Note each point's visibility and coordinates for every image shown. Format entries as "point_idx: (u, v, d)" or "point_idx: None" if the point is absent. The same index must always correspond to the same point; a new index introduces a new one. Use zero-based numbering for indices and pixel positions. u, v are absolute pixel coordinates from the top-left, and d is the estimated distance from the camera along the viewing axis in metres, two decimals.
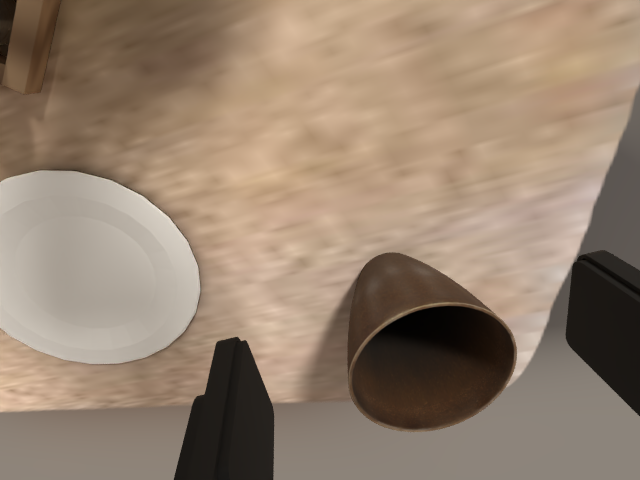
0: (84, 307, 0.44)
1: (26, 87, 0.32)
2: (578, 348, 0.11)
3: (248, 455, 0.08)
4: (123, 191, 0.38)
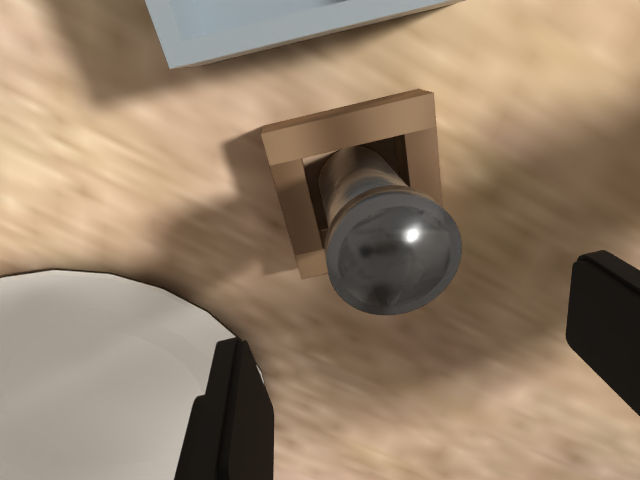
0: (58, 421, 0.30)
1: None
2: (578, 348, 0.11)
3: (248, 455, 0.08)
4: None
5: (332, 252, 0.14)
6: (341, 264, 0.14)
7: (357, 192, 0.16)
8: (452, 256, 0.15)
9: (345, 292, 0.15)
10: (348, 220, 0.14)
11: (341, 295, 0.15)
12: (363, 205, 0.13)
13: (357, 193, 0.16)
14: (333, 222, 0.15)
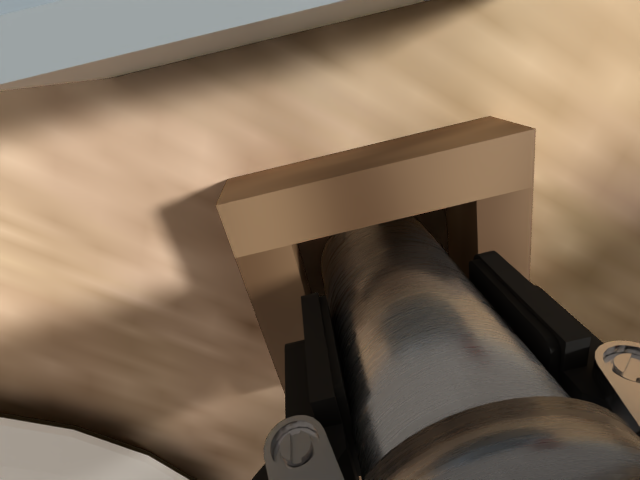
0: None
1: None
2: None
3: (345, 388, 0.09)
4: None
5: None
6: None
7: (419, 373, 0.07)
8: None
9: None
10: None
11: None
12: None
13: (420, 377, 0.07)
14: None
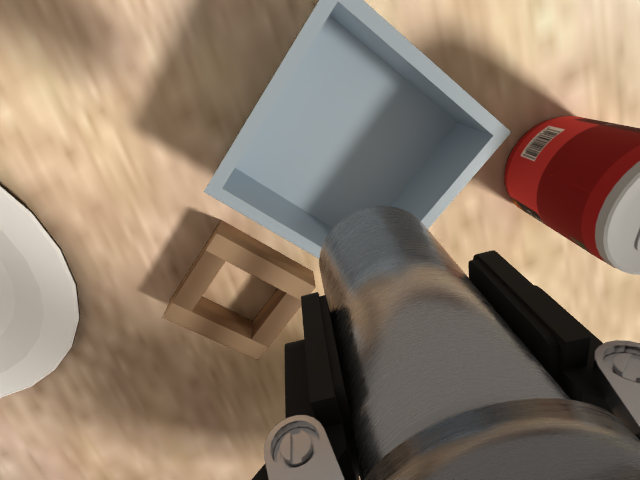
0: None
1: None
2: None
3: None
4: (58, 356, 0.33)
5: None
6: None
7: (417, 374, 0.07)
8: None
9: None
10: None
11: None
12: None
13: (418, 378, 0.07)
14: None
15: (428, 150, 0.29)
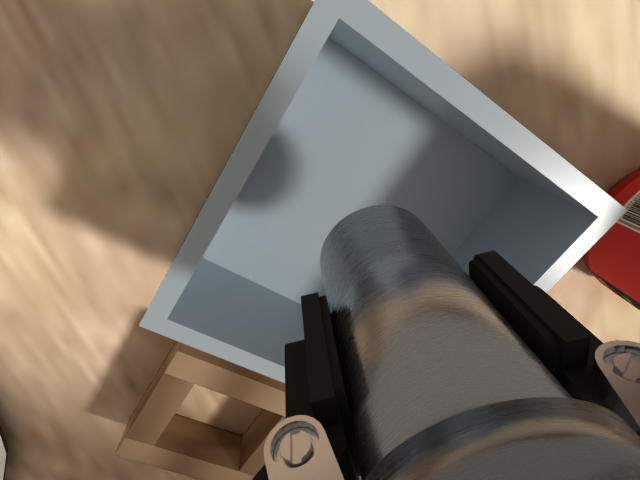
0: None
1: None
2: None
3: None
4: None
5: None
6: None
7: (418, 373, 0.07)
8: None
9: None
10: None
11: None
12: None
13: (420, 377, 0.07)
14: None
15: (477, 217, 0.20)
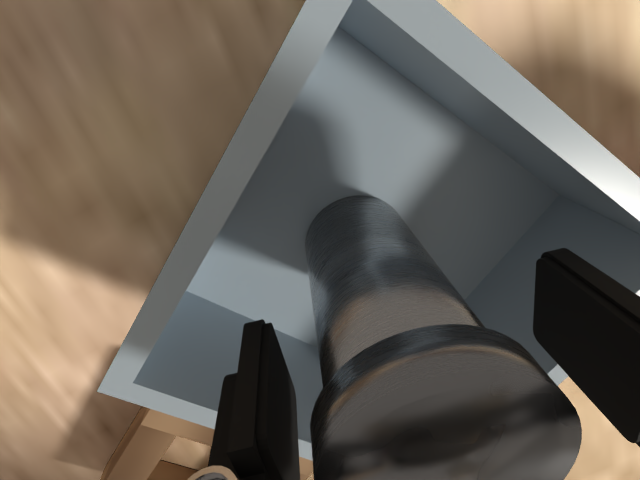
0: None
1: None
2: (543, 342, 0.11)
3: (279, 427, 0.08)
4: None
5: (325, 469, 0.07)
6: None
7: (369, 317, 0.09)
8: (560, 459, 0.07)
9: None
10: (357, 419, 0.06)
11: None
12: (388, 389, 0.06)
13: (370, 319, 0.09)
14: (326, 396, 0.07)
15: (508, 241, 0.17)
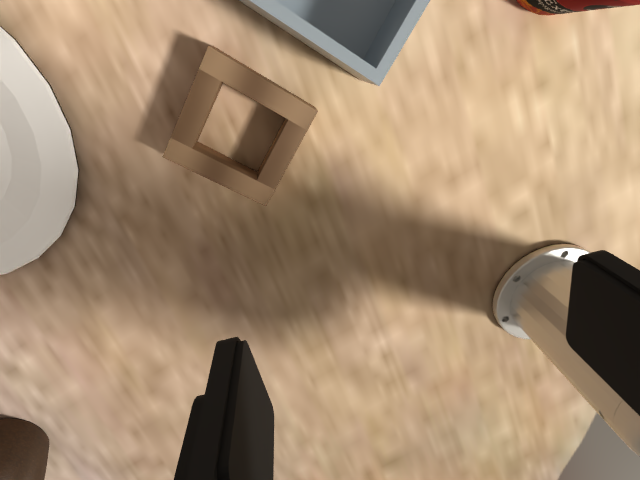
0: None
1: None
2: (578, 348, 0.11)
3: (248, 455, 0.08)
4: (62, 218, 0.32)
5: None
6: None
7: None
8: None
9: None
10: None
11: None
12: None
13: None
14: None
15: None
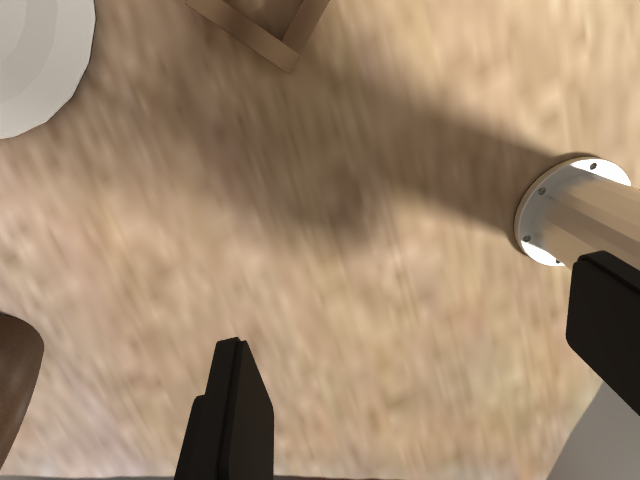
0: None
1: (193, 8, 0.29)
2: (578, 348, 0.11)
3: (248, 455, 0.08)
4: (75, 74, 0.31)
5: None
6: None
7: None
8: None
9: None
10: None
11: None
12: None
13: None
14: None
15: None
